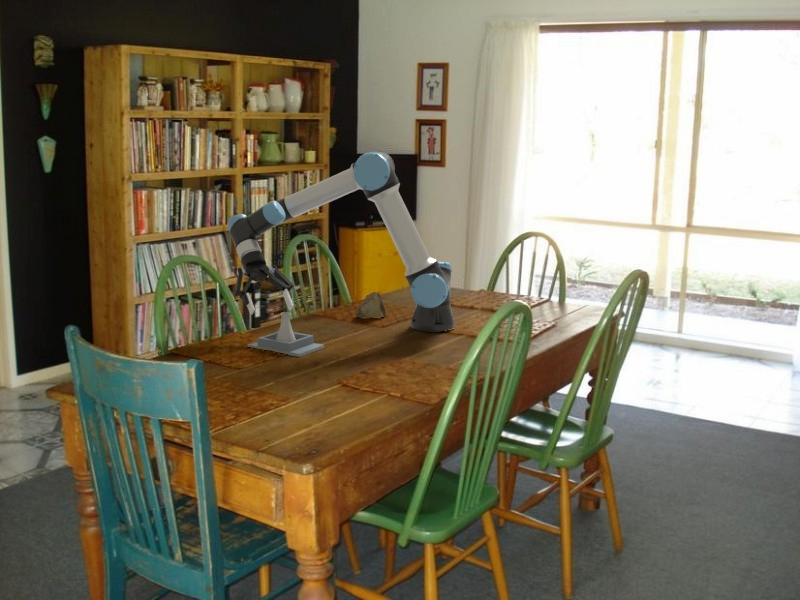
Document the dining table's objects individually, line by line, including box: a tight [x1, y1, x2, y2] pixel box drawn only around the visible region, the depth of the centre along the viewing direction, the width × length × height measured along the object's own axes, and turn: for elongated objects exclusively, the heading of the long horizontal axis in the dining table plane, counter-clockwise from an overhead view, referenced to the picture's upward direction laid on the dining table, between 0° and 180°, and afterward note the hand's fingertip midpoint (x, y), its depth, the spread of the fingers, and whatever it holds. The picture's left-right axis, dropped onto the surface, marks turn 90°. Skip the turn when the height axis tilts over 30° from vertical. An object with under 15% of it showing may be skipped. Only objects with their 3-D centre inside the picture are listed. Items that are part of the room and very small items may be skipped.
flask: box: [276, 311, 296, 342], centre depth 286 cm, size 7×7×10 cm
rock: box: [355, 291, 387, 318], centre depth 331 cm, size 11×9×10 cm
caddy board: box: [246, 330, 325, 358], centre depth 286 cm, size 20×13×4 cm, turn 60°
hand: (272, 310), depth 292 cm, fingers open, 13 cm apart
